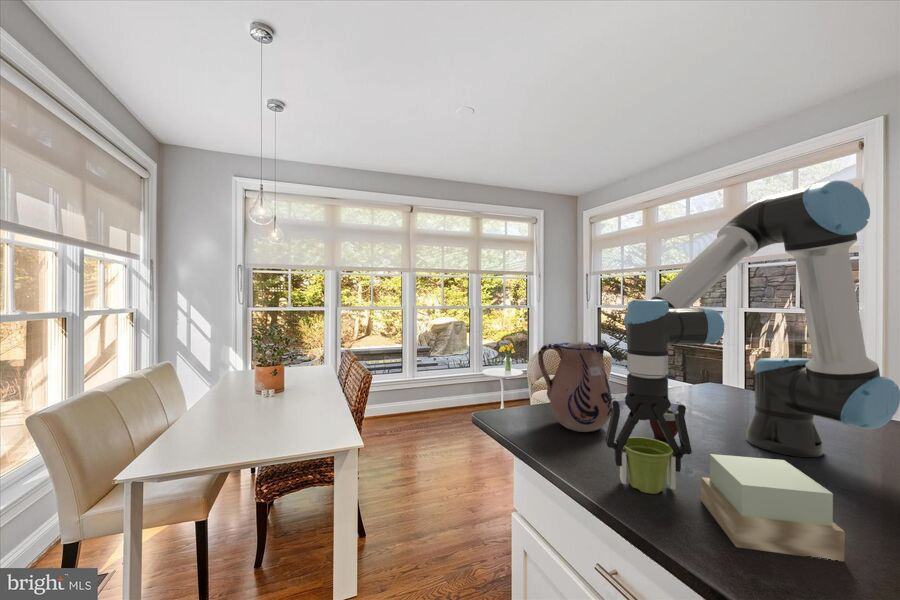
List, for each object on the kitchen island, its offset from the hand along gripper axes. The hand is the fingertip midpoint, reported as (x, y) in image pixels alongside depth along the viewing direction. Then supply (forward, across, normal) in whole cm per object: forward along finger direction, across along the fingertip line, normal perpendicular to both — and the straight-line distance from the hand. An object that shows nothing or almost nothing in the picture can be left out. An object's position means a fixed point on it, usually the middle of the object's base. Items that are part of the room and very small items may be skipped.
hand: (646, 483), depth 79 cm
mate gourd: (+1, -11, -29) cm, 31 cm away
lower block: (+1, -16, +10) cm, 19 cm away
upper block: (-4, -16, +10) cm, 19 cm away
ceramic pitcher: (+1, +12, -34) cm, 36 cm away
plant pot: (+1, 0, 0) cm, 1 cm away
